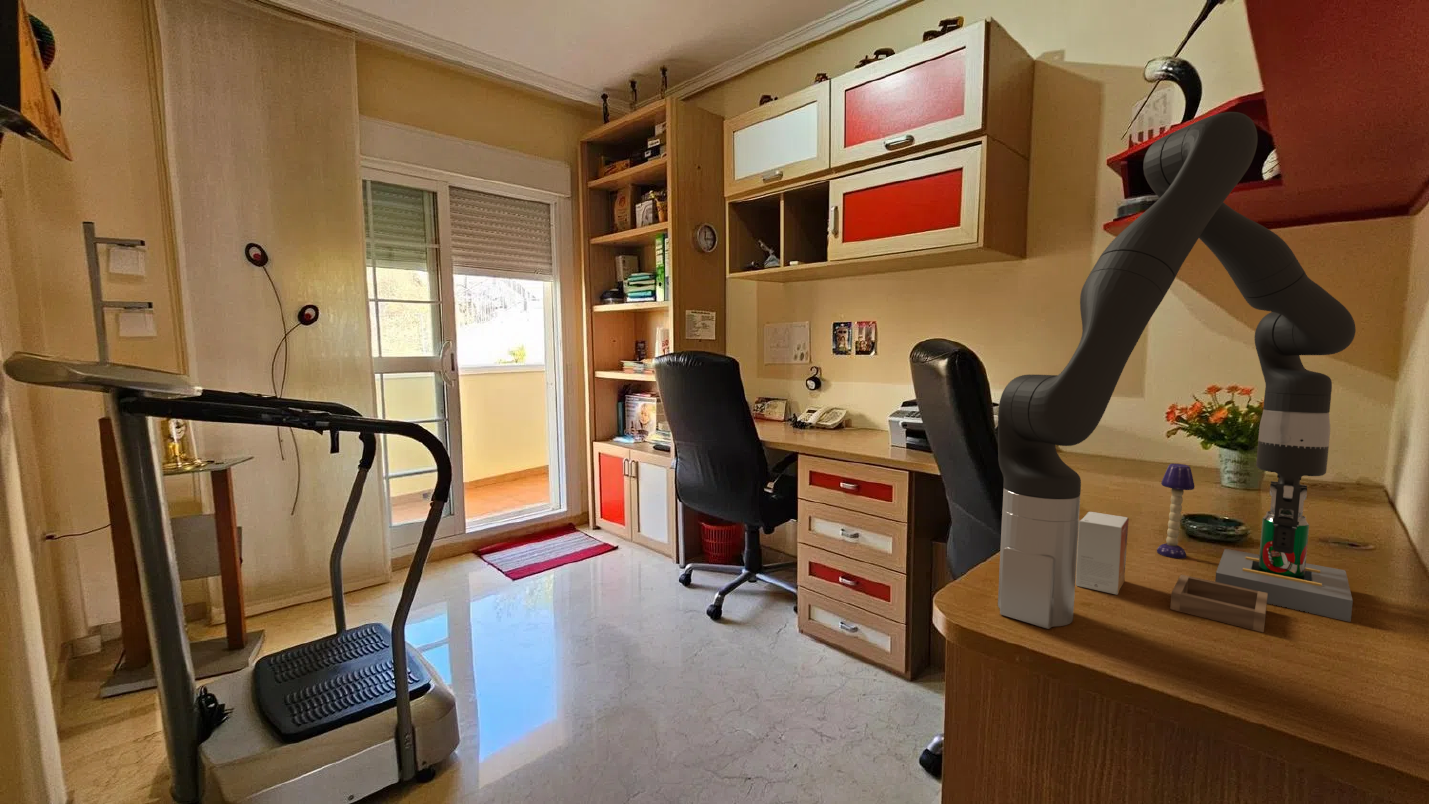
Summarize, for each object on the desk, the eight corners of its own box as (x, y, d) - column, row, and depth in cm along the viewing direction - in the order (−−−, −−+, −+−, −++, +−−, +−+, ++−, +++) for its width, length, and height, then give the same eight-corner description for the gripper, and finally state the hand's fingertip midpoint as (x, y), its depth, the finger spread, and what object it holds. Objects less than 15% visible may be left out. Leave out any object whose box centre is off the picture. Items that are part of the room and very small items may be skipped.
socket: (1350, 622, 78) (1352, 598, 77) (1214, 591, 88) (1216, 570, 87) (1343, 589, 89) (1345, 568, 89) (1223, 565, 99) (1225, 546, 99)
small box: (1117, 596, 86) (1122, 527, 85) (1074, 586, 89) (1078, 520, 89) (1125, 581, 92) (1129, 516, 91) (1084, 572, 95) (1088, 510, 95)
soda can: (1282, 584, 90) (1289, 510, 89) (1312, 598, 85) (1320, 519, 84) (1247, 583, 91) (1254, 509, 90) (1275, 596, 86) (1282, 518, 85)
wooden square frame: (1263, 632, 75) (1265, 614, 74) (1170, 609, 81) (1171, 592, 81) (1266, 610, 81) (1267, 592, 81) (1179, 590, 88) (1180, 574, 88)
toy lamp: (1195, 558, 102) (1202, 466, 101) (1177, 561, 101) (1184, 467, 99) (1166, 549, 107) (1173, 461, 105) (1149, 552, 105) (1155, 462, 104)
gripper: (1331, 449, 79) (1319, 563, 80) (1327, 439, 89) (1317, 541, 90) (1256, 442, 84) (1246, 550, 85) (1260, 434, 94) (1252, 530, 95)
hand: (1283, 545), depth 88 cm, fingers open, 8 cm apart
